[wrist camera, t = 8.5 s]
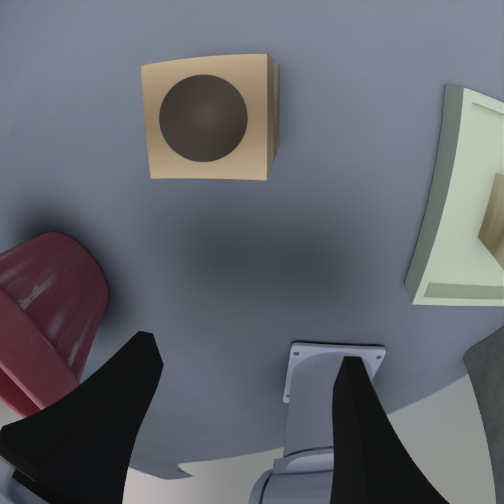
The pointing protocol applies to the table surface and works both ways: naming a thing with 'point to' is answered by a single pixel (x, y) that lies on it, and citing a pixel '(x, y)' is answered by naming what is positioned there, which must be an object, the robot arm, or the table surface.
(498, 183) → the birch block
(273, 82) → the oak block
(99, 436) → the robot arm
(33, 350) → the plant pot
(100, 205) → the table surface
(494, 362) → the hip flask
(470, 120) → the tray
